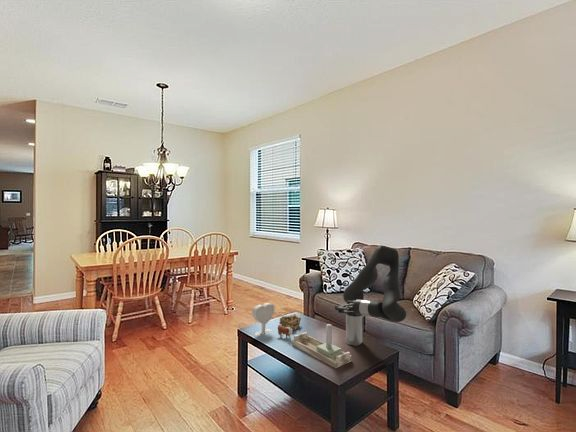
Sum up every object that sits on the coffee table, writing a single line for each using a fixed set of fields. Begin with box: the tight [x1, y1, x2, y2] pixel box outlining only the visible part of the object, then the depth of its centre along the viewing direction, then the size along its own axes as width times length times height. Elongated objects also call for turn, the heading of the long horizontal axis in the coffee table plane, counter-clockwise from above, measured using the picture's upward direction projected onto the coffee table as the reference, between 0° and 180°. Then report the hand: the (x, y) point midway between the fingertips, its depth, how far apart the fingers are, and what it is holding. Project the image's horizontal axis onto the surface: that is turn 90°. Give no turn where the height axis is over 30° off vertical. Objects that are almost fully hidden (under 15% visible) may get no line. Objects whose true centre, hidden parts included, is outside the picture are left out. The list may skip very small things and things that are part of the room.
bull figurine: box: [277, 324, 295, 339], centre depth 196 cm, size 4×13×8 cm, turn 41°
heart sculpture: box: [251, 302, 275, 336], centre depth 206 cm, size 16×5×18 cm, turn 132°
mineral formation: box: [278, 313, 302, 331], centre depth 215 cm, size 8×13×15 cm
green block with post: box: [317, 323, 342, 360], centre depth 170 cm, size 8×10×17 cm
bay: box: [291, 331, 353, 369], centre depth 175 cm, size 12×34×6 cm, turn 39°
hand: (341, 305), depth 164 cm, fingers open, 8 cm apart
